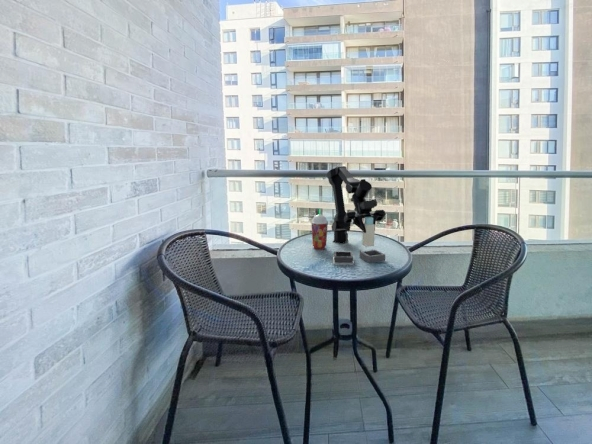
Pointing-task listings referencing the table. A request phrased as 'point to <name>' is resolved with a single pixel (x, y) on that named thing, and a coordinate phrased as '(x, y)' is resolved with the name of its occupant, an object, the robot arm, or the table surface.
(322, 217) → the smoothie
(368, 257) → the grey square tray
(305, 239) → the table surface
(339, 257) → the port
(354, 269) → the table surface
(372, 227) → the cream bottle
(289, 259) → the table surface
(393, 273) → the table surface
